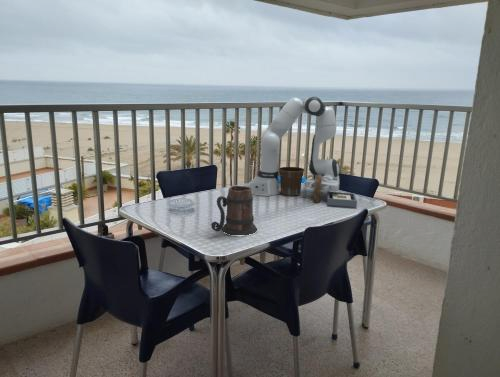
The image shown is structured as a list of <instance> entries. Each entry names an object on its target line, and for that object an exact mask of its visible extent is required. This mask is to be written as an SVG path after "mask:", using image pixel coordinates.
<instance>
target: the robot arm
mask: <svg viewBox="0 0 500 377" xmlns="http://www.w3.org/2000/svg"><path fill="white" fill-rule="evenodd" d="M301 114H307V115H309V116H315V118H316V119H317V131H316V133H315V134H313V137H312V142H311V152H310V160H309V167H308V170H309V172H310V173H311V174H312V175H314V176H315V175H322V183H321V191H324V192H325V191H330V192H339V190H340V176H339V175H340V170H341V169H340V167H341V166H340V164H339V162H338V161H337V159H334V158H327V159H320V158H319V155H320V154H319V153H320V146H321V144H322V143H325V142H327V141H328V140H331V139H332V138H334V137H335V135H336V133H337V119H336V113H335V110H334V108H333V107H331V106H325V104H324V103H323V101H322V99H321V98H319V97H318V96H312V95H311V96H308V97H306V98H303V99H300V98H298V97H295V96H294V97H291V98H290V99H289V100H288V101H286V103H285V104H284V106H283V107H282V108H281V109H280V111H279V112H278V114H277V115H276V116H275V118H274V119H273V121H271V123H270V124H269V125H268V126H267V127H266V129H265V130H264V132H263V133H261V136H260V141H261V142H260V143H261V145H260V146H261V148H260V169H257V174H256V177H254V178H253V179H251V180H250V181H249V183H248V185H247V187H250V188H251V191H252V196H253V195H254V196H255V195H256V196H262V197H269V196H275V195H279V194H281V191H280V187H278V177H279V176H280V173H279V156H280V144H281V139H282V138H283V137H284V136H285V134H286V133H287V132H288V131H289V130H290V129H291V128H292V126H293V125H294V123H295V122H296V121H297V119H298V118H299V117H300V116H301ZM314 183H315V178H314V179H313V178H310V179H307V180H306V181H305V183H304V186H305V187H307V188H308V189H309V188H310V189H312V188H313V189H314Z"/></svg>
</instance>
